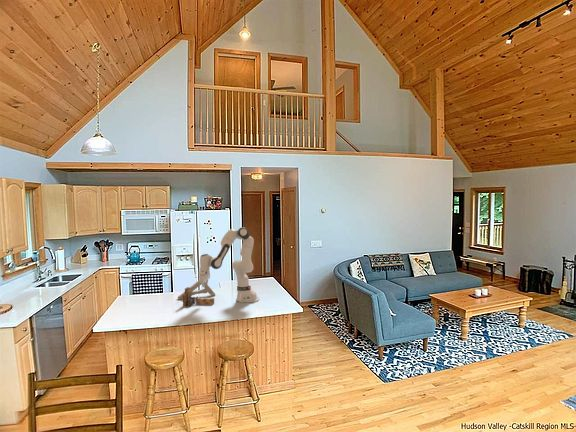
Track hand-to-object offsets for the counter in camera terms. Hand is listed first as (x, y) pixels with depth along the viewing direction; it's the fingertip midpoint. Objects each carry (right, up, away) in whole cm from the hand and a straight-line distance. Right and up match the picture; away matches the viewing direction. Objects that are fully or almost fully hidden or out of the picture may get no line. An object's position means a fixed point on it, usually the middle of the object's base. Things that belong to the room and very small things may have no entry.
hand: (205, 285), depth 316 cm
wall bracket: (-14, -17, +23) cm, 32 cm away
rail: (0, -18, +1) cm, 18 cm away
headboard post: (-15, -18, -1) cm, 23 cm away
